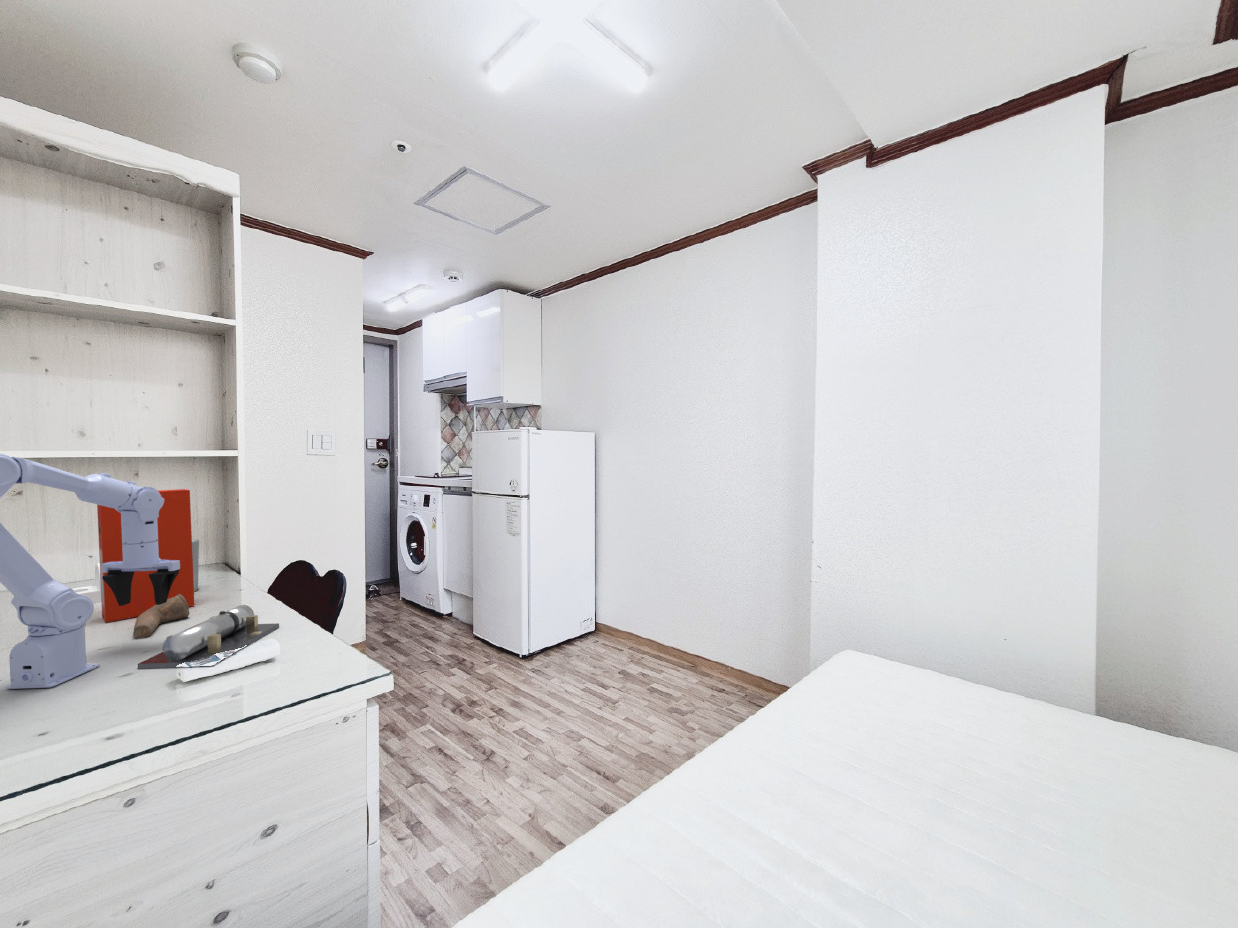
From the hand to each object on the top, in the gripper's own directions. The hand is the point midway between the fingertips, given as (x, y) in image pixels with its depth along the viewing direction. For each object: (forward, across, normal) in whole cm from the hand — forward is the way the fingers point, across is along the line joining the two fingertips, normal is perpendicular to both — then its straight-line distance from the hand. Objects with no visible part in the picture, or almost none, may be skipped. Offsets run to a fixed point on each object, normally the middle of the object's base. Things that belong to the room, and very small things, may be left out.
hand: (143, 603), depth 112 cm
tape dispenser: (+10, +44, -41) cm, 61 cm away
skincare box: (+10, +26, -44) cm, 52 cm away
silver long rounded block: (+8, -15, +1) cm, 18 cm away
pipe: (+10, +7, -14) cm, 18 cm away
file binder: (+10, +20, -26) cm, 34 cm away
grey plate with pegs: (+9, -16, +1) cm, 18 cm away
